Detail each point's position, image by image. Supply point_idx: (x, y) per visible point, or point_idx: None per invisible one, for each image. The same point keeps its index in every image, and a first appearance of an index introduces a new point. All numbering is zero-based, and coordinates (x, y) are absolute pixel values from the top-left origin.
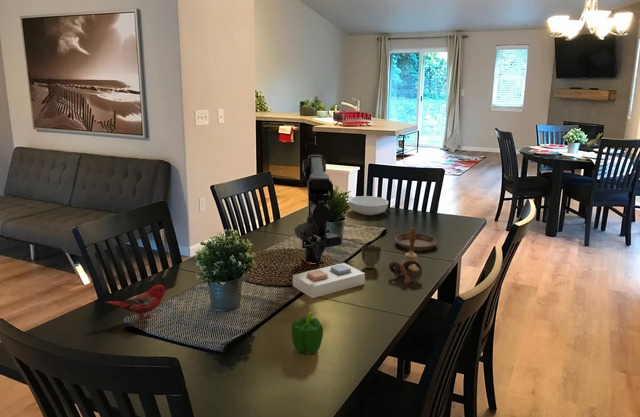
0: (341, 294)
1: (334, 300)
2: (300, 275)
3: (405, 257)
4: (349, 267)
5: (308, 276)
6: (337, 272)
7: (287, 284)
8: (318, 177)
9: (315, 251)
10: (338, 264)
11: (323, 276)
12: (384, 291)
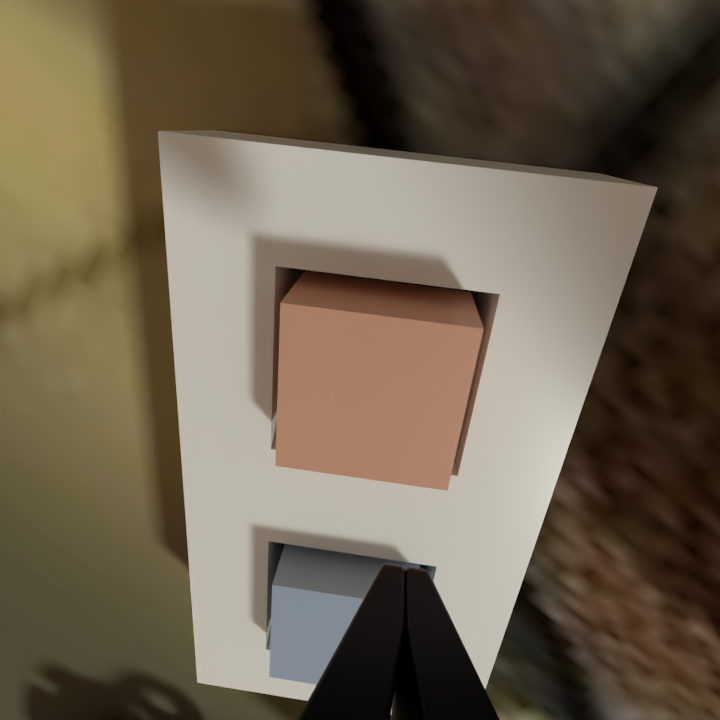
0: (160, 390)
1: (85, 270)
2: (557, 261)
3: None
4: None
5: (443, 308)
6: (308, 570)
7: (676, 150)
8: None
9: (417, 703)
10: None
11: (279, 407)
12: (74, 600)
